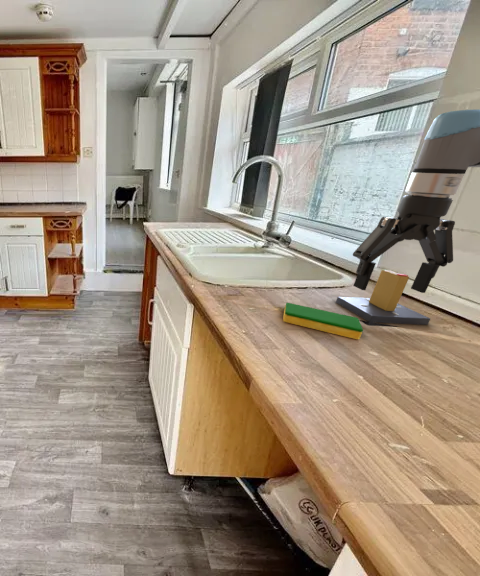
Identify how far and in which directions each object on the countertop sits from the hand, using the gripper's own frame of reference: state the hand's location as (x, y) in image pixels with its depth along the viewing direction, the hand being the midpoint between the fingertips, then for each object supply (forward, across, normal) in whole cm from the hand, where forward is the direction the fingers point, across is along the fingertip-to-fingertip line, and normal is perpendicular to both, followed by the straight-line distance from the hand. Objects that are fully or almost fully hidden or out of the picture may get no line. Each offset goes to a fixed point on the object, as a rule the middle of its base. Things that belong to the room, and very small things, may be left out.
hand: (388, 289), depth 72 cm
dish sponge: (+7, -18, -6) cm, 21 cm away
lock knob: (+4, 0, 0) cm, 4 cm away
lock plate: (+7, 0, 0) cm, 7 cm away
